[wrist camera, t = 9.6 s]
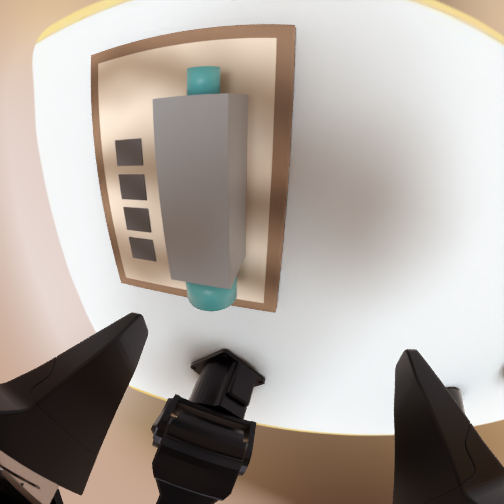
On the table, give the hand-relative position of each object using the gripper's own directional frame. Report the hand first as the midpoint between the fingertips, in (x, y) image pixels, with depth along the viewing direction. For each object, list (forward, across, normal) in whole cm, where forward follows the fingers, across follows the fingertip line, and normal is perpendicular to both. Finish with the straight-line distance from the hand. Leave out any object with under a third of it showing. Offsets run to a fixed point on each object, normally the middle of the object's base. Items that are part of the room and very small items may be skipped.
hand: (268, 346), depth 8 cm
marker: (+11, +5, -2) cm, 12 cm away
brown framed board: (+12, +8, -2) cm, 15 cm away
